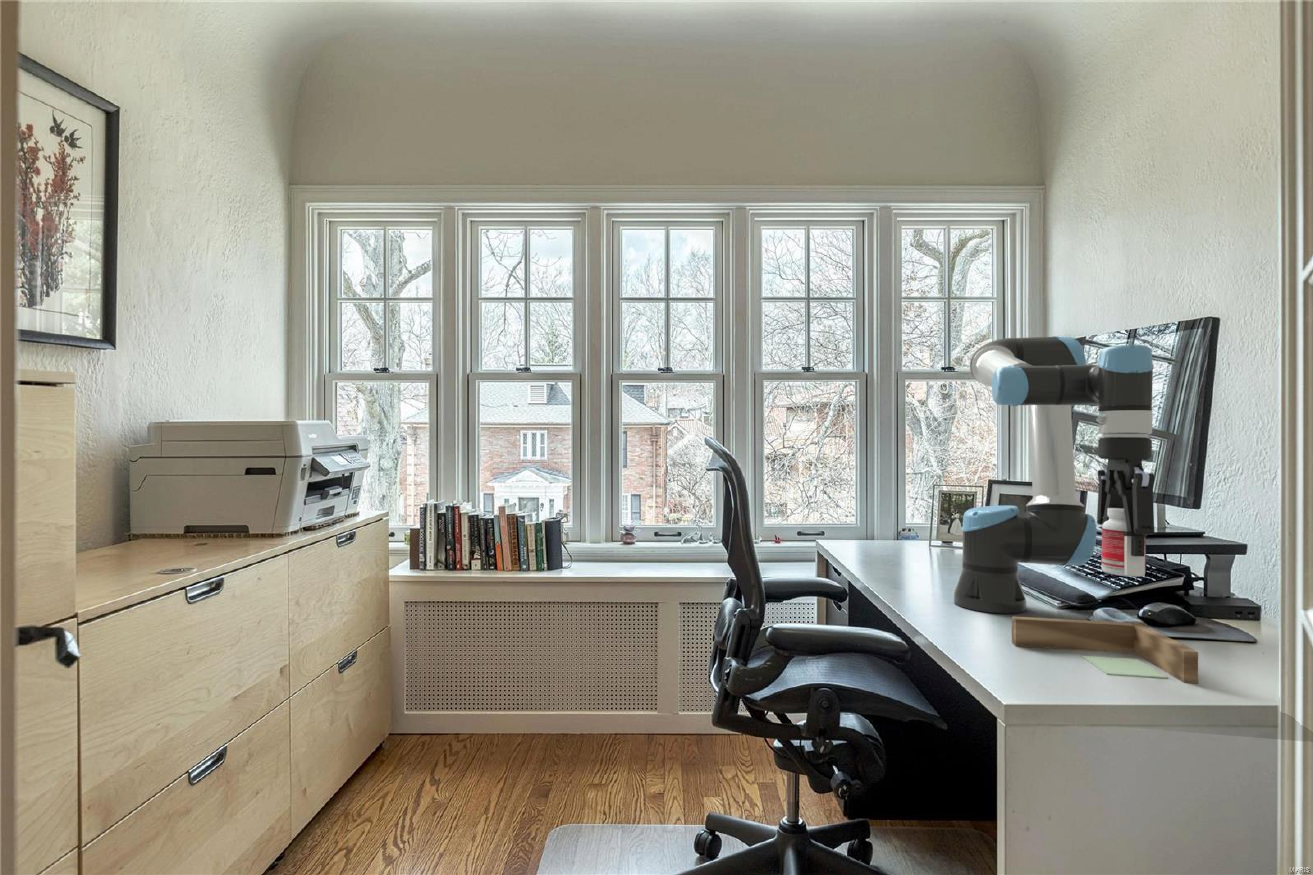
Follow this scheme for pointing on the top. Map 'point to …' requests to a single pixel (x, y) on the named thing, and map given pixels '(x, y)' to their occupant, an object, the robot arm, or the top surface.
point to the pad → (1124, 667)
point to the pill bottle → (1114, 542)
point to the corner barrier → (1108, 641)
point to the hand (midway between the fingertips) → (1123, 571)
